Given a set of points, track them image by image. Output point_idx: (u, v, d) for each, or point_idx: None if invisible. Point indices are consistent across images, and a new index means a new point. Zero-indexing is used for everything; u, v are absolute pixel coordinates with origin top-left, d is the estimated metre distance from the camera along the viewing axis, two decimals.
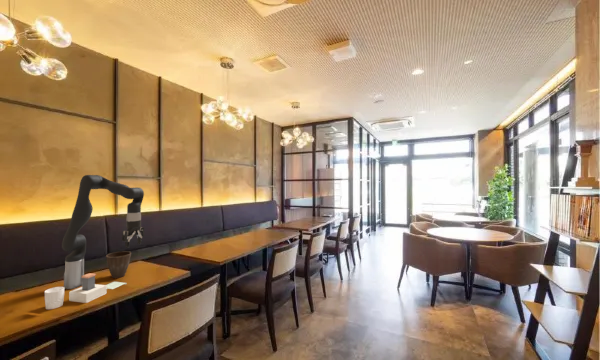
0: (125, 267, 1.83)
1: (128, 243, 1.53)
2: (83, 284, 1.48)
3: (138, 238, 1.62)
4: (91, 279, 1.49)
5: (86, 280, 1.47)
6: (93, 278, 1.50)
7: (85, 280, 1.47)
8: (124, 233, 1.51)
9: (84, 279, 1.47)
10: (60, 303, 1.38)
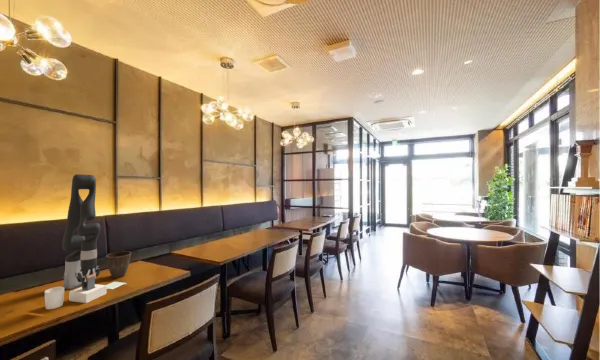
0: (125, 267, 1.83)
1: (85, 283, 1.47)
2: None
3: None
4: (91, 279, 1.49)
5: None
6: (93, 278, 1.50)
7: None
8: (77, 275, 1.43)
9: None
10: (60, 303, 1.38)
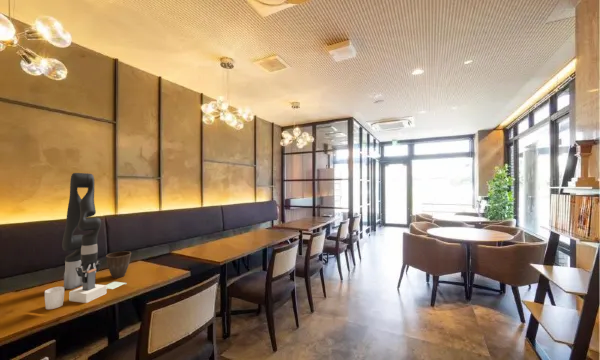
0: (125, 267, 1.83)
1: (85, 278, 1.47)
2: None
3: None
4: (91, 274, 1.49)
5: None
6: (93, 273, 1.50)
7: None
8: (78, 270, 1.43)
9: None
10: (60, 303, 1.38)
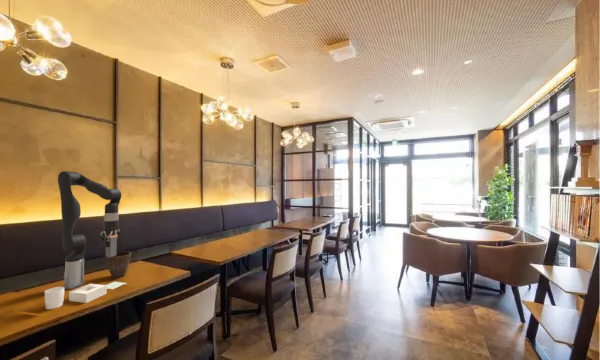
0: (125, 267, 1.83)
1: (108, 243, 1.61)
2: None
3: None
4: (113, 239, 1.64)
5: None
6: (115, 239, 1.65)
7: None
8: (101, 234, 1.58)
9: None
10: (60, 303, 1.38)
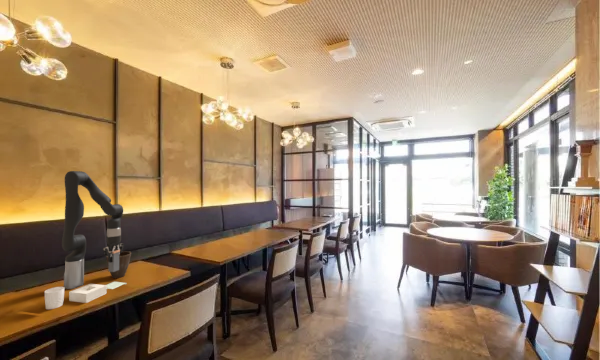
0: (125, 267, 1.83)
1: (111, 258, 1.63)
2: None
3: None
4: (116, 254, 1.66)
5: (112, 255, 1.64)
6: (118, 254, 1.67)
7: None
8: (104, 250, 1.60)
9: None
10: (60, 303, 1.38)
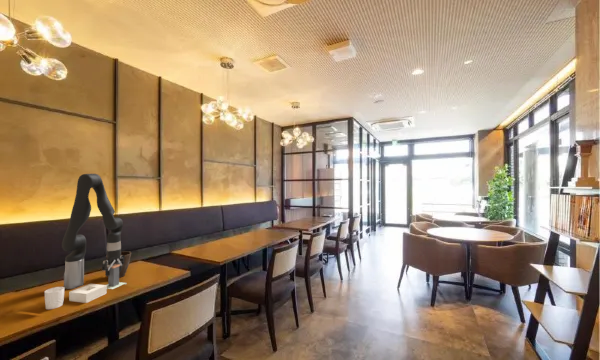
0: (125, 267, 1.83)
1: (108, 272, 1.62)
2: None
3: None
4: (116, 269, 1.66)
5: (112, 269, 1.64)
6: (118, 268, 1.67)
7: (110, 270, 1.64)
8: (104, 263, 1.59)
9: (110, 269, 1.64)
10: (60, 303, 1.38)
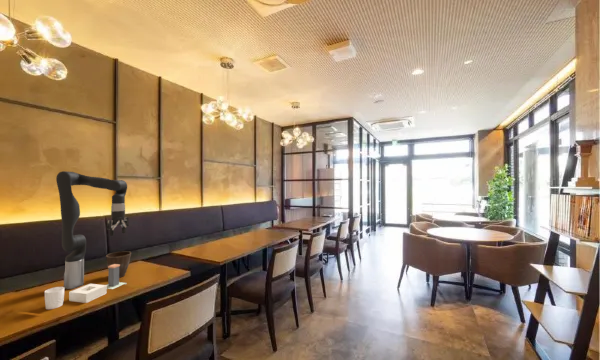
0: (125, 267, 1.83)
1: (112, 231, 1.65)
2: (109, 273, 1.65)
3: None
4: (116, 269, 1.66)
5: (112, 269, 1.64)
6: (118, 268, 1.67)
7: (110, 270, 1.64)
8: (108, 222, 1.63)
9: (110, 269, 1.64)
10: (60, 303, 1.38)
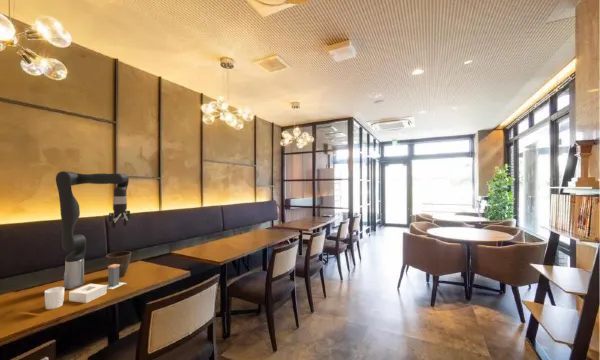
0: (125, 267, 1.83)
1: (114, 224, 1.67)
2: (109, 273, 1.65)
3: (124, 220, 1.75)
4: (116, 269, 1.66)
5: (112, 269, 1.64)
6: (118, 268, 1.67)
7: (110, 270, 1.64)
8: (110, 214, 1.65)
9: (110, 269, 1.64)
10: (60, 303, 1.38)
